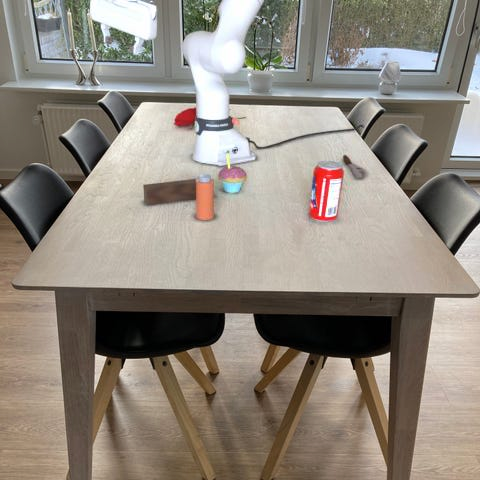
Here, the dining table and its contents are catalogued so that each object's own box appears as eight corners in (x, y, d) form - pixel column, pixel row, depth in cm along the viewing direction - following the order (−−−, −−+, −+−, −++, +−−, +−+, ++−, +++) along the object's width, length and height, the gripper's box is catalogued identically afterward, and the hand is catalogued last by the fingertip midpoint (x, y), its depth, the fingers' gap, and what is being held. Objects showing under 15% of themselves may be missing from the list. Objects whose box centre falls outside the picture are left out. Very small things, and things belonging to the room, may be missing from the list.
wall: (209, 193, 156) (209, 177, 154) (213, 196, 154) (213, 180, 151) (144, 201, 149) (143, 184, 146) (147, 205, 147) (146, 188, 144)
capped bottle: (209, 211, 145) (210, 172, 138) (216, 218, 141) (216, 177, 135) (193, 214, 143) (192, 173, 137) (199, 220, 139) (199, 179, 133)
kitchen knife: (369, 177, 171) (354, 175, 171) (367, 182, 172) (353, 180, 172) (356, 155, 188) (342, 153, 188) (354, 160, 189) (341, 158, 189)
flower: (245, 99, 214) (171, 103, 213) (247, 115, 210) (172, 120, 209) (245, 116, 222) (174, 121, 221) (247, 132, 218) (174, 137, 217)
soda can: (329, 226, 139) (337, 171, 131) (303, 219, 143) (309, 164, 134) (341, 217, 145) (349, 163, 137) (315, 210, 148) (322, 157, 140)
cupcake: (225, 196, 155) (226, 155, 148) (213, 187, 161) (213, 147, 154) (251, 192, 158) (252, 152, 151) (238, 183, 164) (239, 144, 157)
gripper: (165, 1, 132) (158, 59, 140) (104, -21, 138) (101, 37, 146) (149, 0, 127) (143, 61, 135) (86, -22, 133) (84, 38, 142)
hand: (121, 48), depth 141 cm, fingers open, 8 cm apart
